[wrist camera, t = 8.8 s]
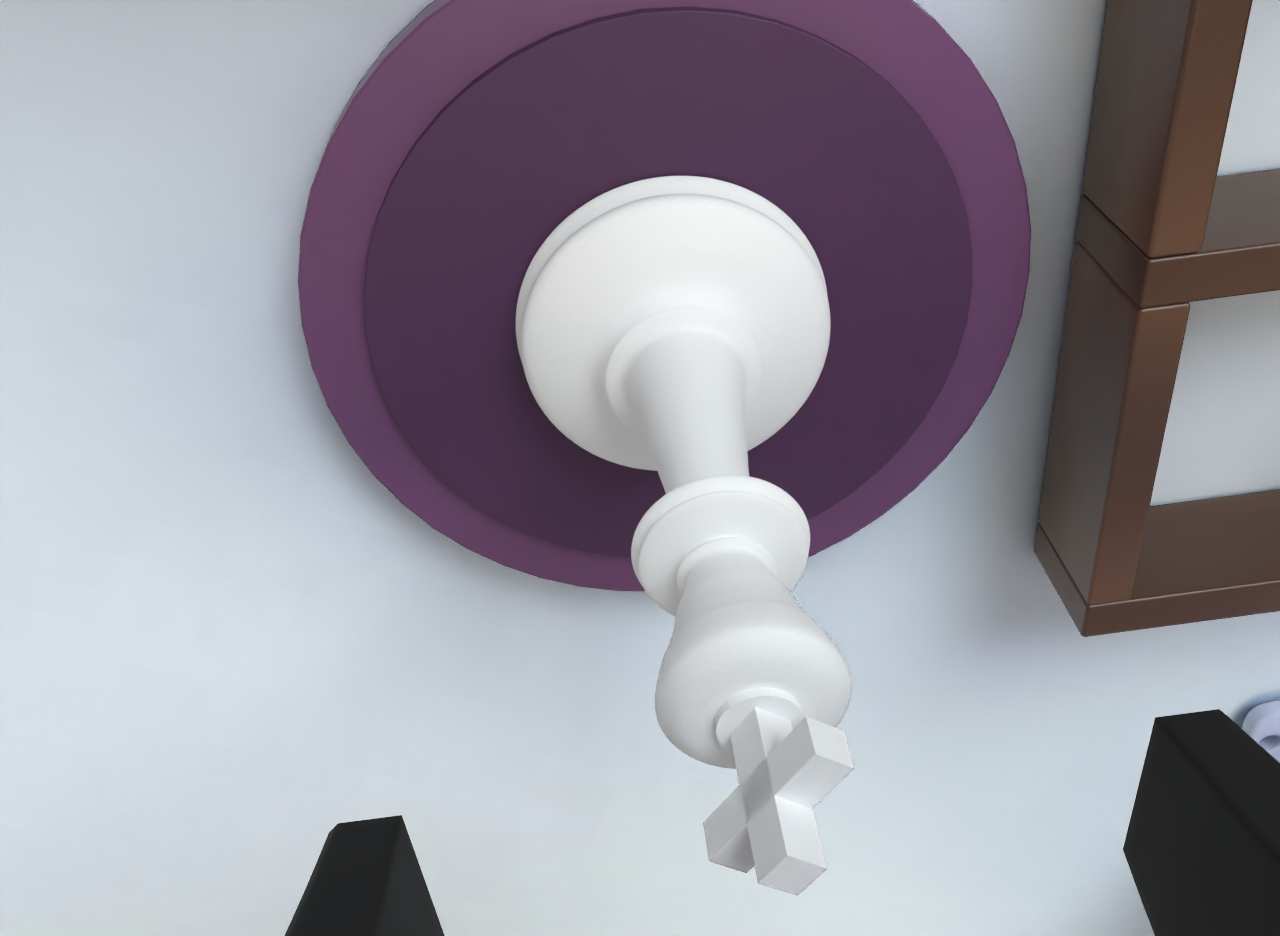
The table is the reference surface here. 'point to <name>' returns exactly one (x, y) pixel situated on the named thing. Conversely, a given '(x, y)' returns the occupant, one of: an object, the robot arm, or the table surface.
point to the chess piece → (706, 478)
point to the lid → (632, 151)
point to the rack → (1155, 330)
